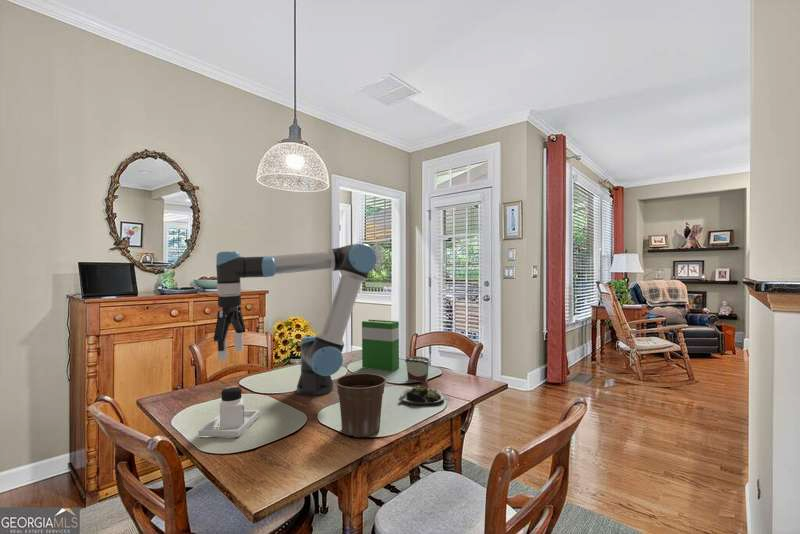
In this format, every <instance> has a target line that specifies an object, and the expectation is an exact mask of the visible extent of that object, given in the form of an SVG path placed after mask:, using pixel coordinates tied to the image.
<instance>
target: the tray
mask: <svg viewBox="0 0 800 534" xmlns="http://www.w3.org/2000/svg"><path fill="white" fill-rule="evenodd" d="M259 416H260V417H261V410H259V409H258V410H257V409H255V410H254V409H251V410H249V409H247V410H246V409H244V424H243V425H242V426H241V427H236V428H230V429H224V430H220V427H216V429H215V427H213V426H214V425H215V424H216V423H218V422H219V421H220V413H219V414H218V415H217V416H216V417H215V418H213V419H212V420H210V421H209V422H208V423H206V424H205V425H204V426H203V427H202V428H200V429H199V430H198V431H197V432H198V436H209V437H210V436H211V437H239V436H240V435H241V434H242V433H243V432H244V431H245V430H246V429H247V428H248V427H249V426H250V425H251V424H252V423H253V422H254V421H255V420H256V419H257V418H258V417H259ZM260 417H259V418H260ZM259 418H258V419H259ZM258 419H257V420H258ZM257 420H256V421H257ZM256 421H255V422H256ZM255 422H254V423H255ZM254 423H253V424H254ZM253 424H252V425H253ZM252 425H251V426H252ZM218 426H219V424H218ZM251 426H250V427H251ZM250 427H249V428H250ZM213 428H214V429H213ZM218 428H219V429H218ZM249 428H248V429H249ZM248 429H247V430H248ZM247 430H246V431H247ZM246 431H245V432H246ZM245 432H244V433H245ZM244 433H243V434H244ZM243 434H242V435H243ZM242 435H241V436H242ZM198 436H197V437H198ZM241 436H240V437H241ZM240 437H239V438H240Z"/></svg>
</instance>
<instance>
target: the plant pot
mask: <svg viewBox="0 0 800 534" xmlns="http://www.w3.org/2000/svg"><path fill="white" fill-rule="evenodd" d="M386 383H387V378H386V377H385V376H383V375H380V374H376V373H375V374H374V373H368V372H367V373H366V372H365V373H364V372H363V373H361V372H360V373H359V372H358V373H352V374H351V373H350V374H346V375H341V376H340V377H338V378H337V379H335V385H336V388H337V395H338V398H339V409H340V419H341V420H340V421H341V431H342V433H343V434H344V435H346V436H347V437H351V436H353V437H354V438H367V437H368V438H369V437H370V436H371V437H372V436H373V435H376V434H377V432H379V431H380V428H381V415H382V404H383V394H384V393H385V392H384V391H385V384H386Z"/></svg>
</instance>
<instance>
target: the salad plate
mask: <svg viewBox="0 0 800 534" xmlns="http://www.w3.org/2000/svg"><path fill="white" fill-rule="evenodd" d="M444 400H445V398H444V395H443V394H442V392H441V390H439V389H437V388H427V387H426V385H425V386H424V385H423V386H422V385H421V386H420V385H418V384H417V385H414V386H413V387H412V388H410V389H405V390H402V391H401V393H400V397H399V398H398V401H399V402H402V403H404V404H405V405H407V404H408V406H411V405H413V406H414V407H433V406H432V405H434V406H438V405H440V403H441V404H442V403H443V402H444ZM413 406H412V407H413Z"/></svg>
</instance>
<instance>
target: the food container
mask: <svg viewBox="0 0 800 534" xmlns="http://www.w3.org/2000/svg"><path fill="white" fill-rule="evenodd" d="M430 361H431V360H430V359H429V358H428V357H425V356H409V357H405V360H404V362H405V364H406V373H407V380H408V381H412V380H414V382H417V381H418V383H422V384H423V383H424V384H427V382H428V376H429V366H430V365H431V362H430Z"/></svg>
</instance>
